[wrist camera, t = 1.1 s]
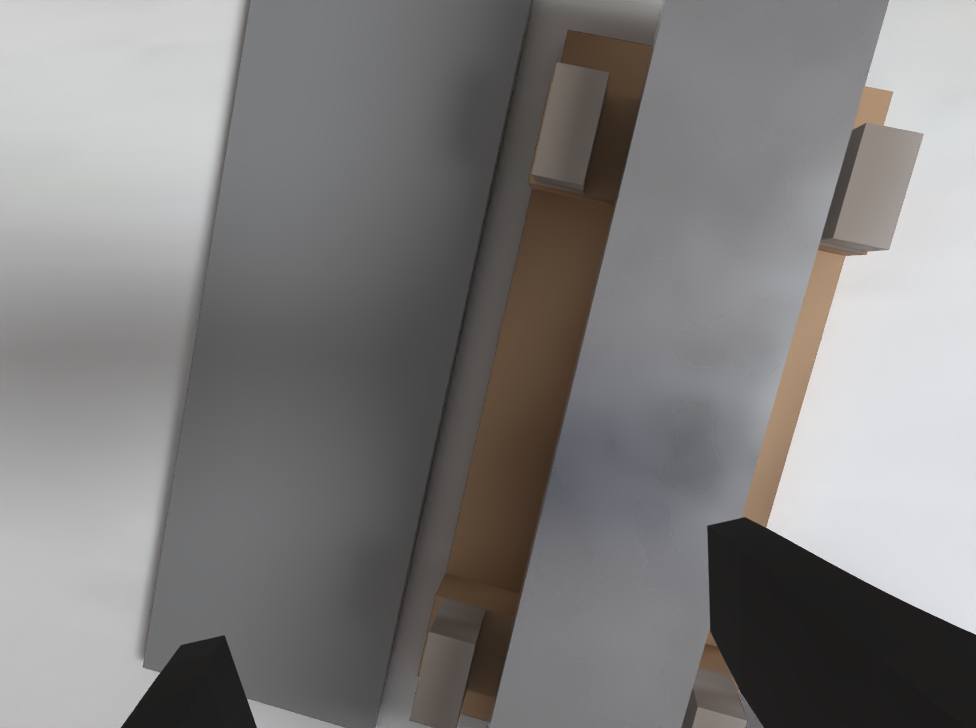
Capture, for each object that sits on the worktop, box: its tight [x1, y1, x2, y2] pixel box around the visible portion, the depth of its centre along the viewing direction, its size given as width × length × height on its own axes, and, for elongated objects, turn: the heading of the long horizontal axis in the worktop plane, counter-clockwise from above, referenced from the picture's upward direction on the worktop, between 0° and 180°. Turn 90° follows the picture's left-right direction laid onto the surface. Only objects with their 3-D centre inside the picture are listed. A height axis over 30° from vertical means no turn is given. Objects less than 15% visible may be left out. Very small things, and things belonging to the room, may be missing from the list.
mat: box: [143, 0, 533, 728], centre depth 23 cm, size 8×24×1 cm, turn 167°
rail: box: [487, 0, 889, 728], centre depth 17 cm, size 4×22×4 cm, turn 167°
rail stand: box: [410, 30, 924, 728], centre depth 20 cm, size 8×20×4 cm, turn 167°
